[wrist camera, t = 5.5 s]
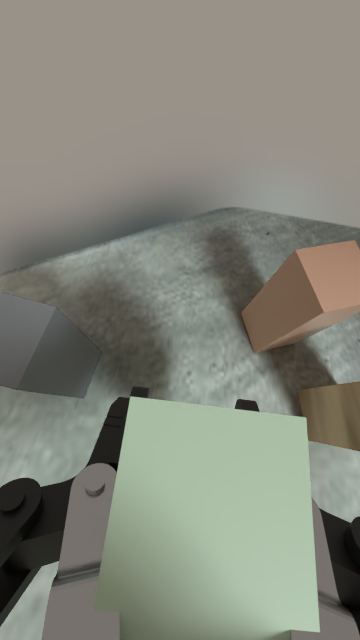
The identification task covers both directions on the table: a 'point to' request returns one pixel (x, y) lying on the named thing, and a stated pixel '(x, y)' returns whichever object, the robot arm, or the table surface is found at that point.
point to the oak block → (333, 414)
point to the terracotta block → (305, 296)
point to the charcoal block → (43, 349)
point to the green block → (210, 526)
